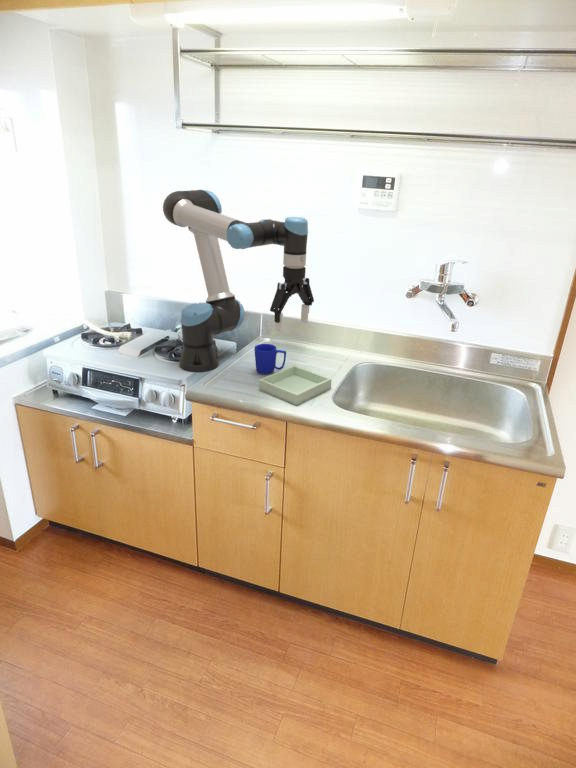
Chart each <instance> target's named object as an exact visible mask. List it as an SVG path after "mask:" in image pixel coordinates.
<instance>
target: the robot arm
mask: <svg viewBox="0 0 576 768" xmlns="http://www.w3.org/2000/svg"><path fill="white" fill-rule="evenodd" d="M163 200H164V201H163V205H162V212H163V215H164V217H165V218H166V220H167V221H168V222H169V223H170V224H172V225H175V226H178V227H180V228H188V231H189V232H191V233H192V234H193V236H194V242H195V244H196V245H195V246H196V249H197V253H198V259H199V262H200V266H201V269H202V270H201V271H202V274H203V278H204V283H205V287H206V293H207V298H206V300H205V302H198V303H197V302H195V303H191V304H189V305H186V306H185V307H183V308H182V309H181V314H180V316H181V317H180V323H181V334H182V336H181V337H182V349H181V353H180V358H179V367H180V368H181V369H182V370H184V371H186V372H193V373H194V372H197V373H198V372H199V373H200V372H206V371H207V372H208V371H212V370H214V369H216V368H217V367H218V366H219V365H220V364H219V363H220V362H219V361H220V359H219V356H218V354H217V353H218V352H217V351H216V348H215V345H214V336H217V335H220V334H224V333H227V332H232V331H234V330H235V329H236V330H237V329H238V328H240V327H241V326H242V325H243V322H244V320H245V316H246V315H245V308H244V306H243V304H242V303H241V301H239V300H238V299H236V295H235V294H234V293H233V292H231V291H230V287H229V282H228V278H227V275H226V273H227V272H226V269H225V264H224V261H223V255H222V252H221V246H220V242H219V239H220V240H223V241H226V242H227V243H228V244H229V246H230V247H231V248H232V249H235V250H245V249H250V248H254V247H255V248H256V247H261V246H269V245H277V246H282V247H283V260H282V261H283V262H282V263H283V265H284V266H283V267H282V277H283V279H284V282H282V283H281V282H277V287H276V290H275V291H276V292H275V294H274V297H273V301H272V303H271V306H270V308H269V311H270V312H271V313H273V314H274V331H277V332H279V333H282V332H283V325H284V324H283V321H284V313H283V312H282V311H283V310H284V308H285V306H286V304H287V302H288V301H289V299H290V298H291V297H292V296H293V295H296V294H297V295H298V297H299V298H300V300H301V302H302V303H303V304H302V303H301V307H300V308H301V311H300V312H301V313H300V322H301V323H303V324H305V325H306V324H308V323H309V313H310V306H312V305H313V303H315V298H314V295H313V293H312V288H311V285H310V278H309V277H306V264H307V263H306V262H307V246H308V245H307V244H308V235H309V225H308V224H309V223H308V220H307V218H306V217H303V216H302V217H301V216H288V217H285V219H284V221H278V220H273V219H270V218H268V219H260V220H259V221H257V222H256V221H255V222H245V221H242V220H239V219H236V218H233V217H231V216H227V215H224V214H222V211H223V209H222V204H221V201H220V199H219V197H218V195H216V194H215V193H214V192H212V191H211V190H206V189H205V190H204V189H196V190H193V189H192V190H176V191H174V192H171V193H169V194H168V195H167V196H166V197H165V198H164V199H163Z"/></svg>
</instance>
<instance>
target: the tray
mask: <svg viewBox="0 0 576 768" xmlns="http://www.w3.org/2000/svg"><path fill="white" fill-rule="evenodd" d="M331 389H332V378H330V377H327V376H324V375H321V374H319V373H316V372H313V371H311V370H307V369H306V368H303V367H299V366H297V365H292V366H289V367H286V368H285V369H281V370H279V371H277V372H273V373H271V374H268V375H267V376H265V377H263V378H260V379H258V391H260V392H262V393H265V394H268V395H270V396H272V397H274V398H277V399H279V400H281V401H284V402H286V403H288V404H291V405H292V406H296V407H298V406H301V405H302V404H304V403H306V402H308V401H310V400H312V399H314V398H316V397H318V396H319V395H322V394H323V393H326V392H328V391H330V390H331Z"/></svg>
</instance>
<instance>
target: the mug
mask: <svg viewBox="0 0 576 768" xmlns="http://www.w3.org/2000/svg"><path fill="white" fill-rule="evenodd" d="M253 349H254V357H255V358H254V359H255V370H256V372H257V373H259V374H260V375H272V374H273V373H274V371H275V370H279V371H282V370H283V368H284V367H285V363H286V357H287V351H286V350H282V349H277V346H276V345H274V344H271V343H261V344H260V343H259V344H256V345H254V348H253ZM278 353H279V354H281V353H282V354H283V362H282V365H281V366H280V367H277V366H276V364H277V362H276V361H277V354H278Z"/></svg>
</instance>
